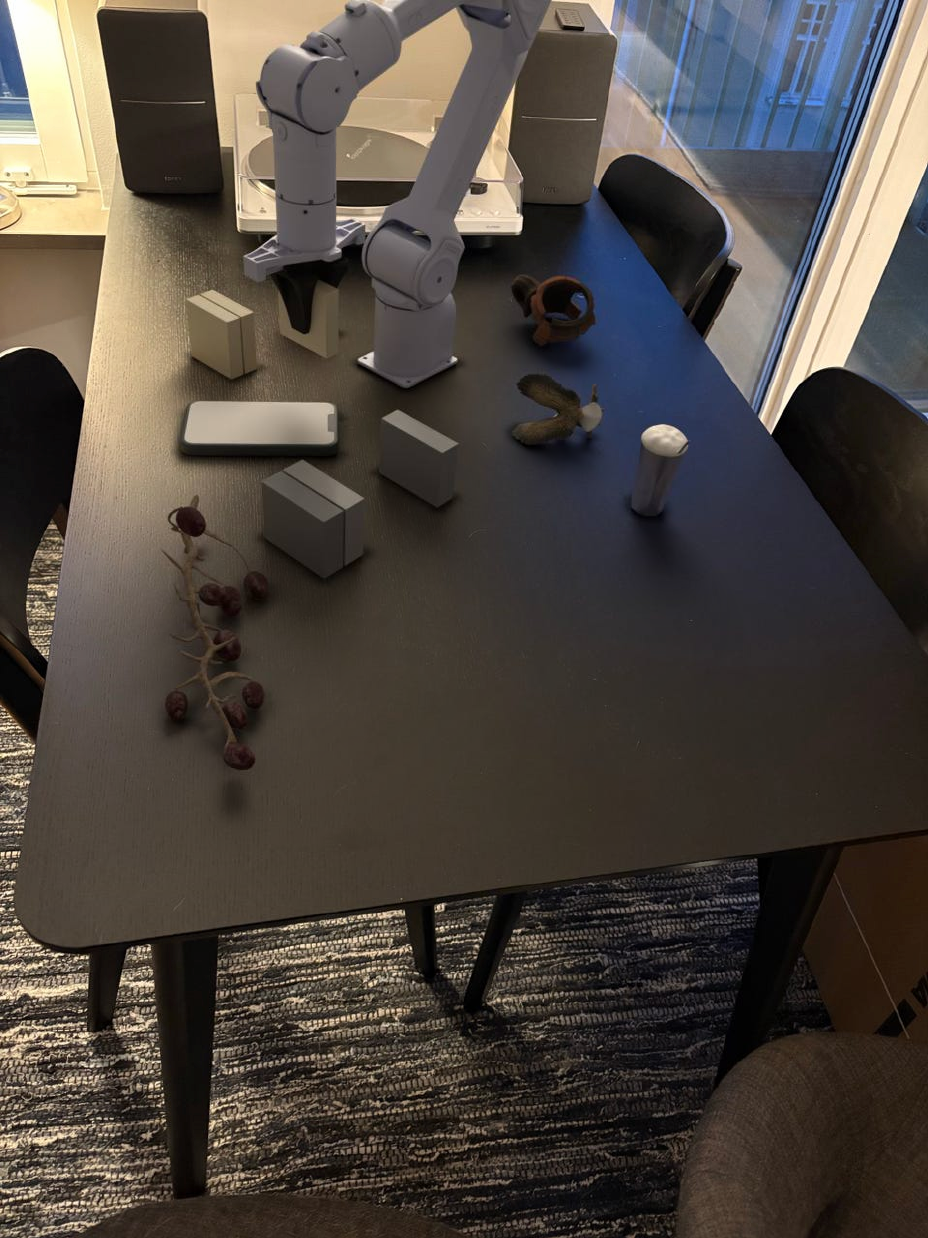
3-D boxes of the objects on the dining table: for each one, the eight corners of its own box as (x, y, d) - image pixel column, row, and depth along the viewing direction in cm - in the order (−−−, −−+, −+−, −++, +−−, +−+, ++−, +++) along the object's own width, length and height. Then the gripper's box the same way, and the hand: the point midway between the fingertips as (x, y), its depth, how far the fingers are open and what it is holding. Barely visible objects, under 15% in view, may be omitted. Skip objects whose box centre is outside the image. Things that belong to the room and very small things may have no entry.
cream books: (298, 313, 122) (296, 259, 117) (337, 334, 119) (337, 279, 114) (191, 355, 112) (185, 298, 108) (231, 379, 109) (226, 322, 105)
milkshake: (645, 529, 97) (669, 445, 90) (615, 499, 100) (636, 415, 93) (681, 519, 98) (708, 436, 92) (651, 490, 102) (674, 407, 95)
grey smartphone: (180, 459, 98) (339, 459, 100) (178, 445, 97) (338, 446, 99) (188, 411, 105) (338, 413, 106) (187, 398, 103) (338, 400, 105)
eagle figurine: (581, 399, 111) (508, 387, 108) (610, 371, 105) (533, 357, 102) (582, 462, 109) (508, 451, 107) (612, 437, 103) (534, 425, 100)
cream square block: (292, 328, 104) (290, 264, 99) (338, 352, 101) (338, 289, 96) (279, 333, 103) (277, 269, 98) (326, 358, 100) (325, 294, 95)
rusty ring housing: (599, 327, 128) (614, 290, 120) (563, 380, 126) (577, 346, 118) (521, 281, 129) (531, 241, 121) (485, 333, 126) (493, 296, 118)
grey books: (394, 463, 101) (397, 409, 96) (452, 497, 97) (458, 443, 93) (264, 538, 90) (260, 481, 86) (324, 579, 87) (323, 522, 82)
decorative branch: (259, 732, 65) (140, 426, 79) (192, 804, 70) (90, 502, 84) (379, 732, 74) (252, 456, 88) (312, 796, 78) (201, 523, 92)
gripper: (277, 226, 85) (283, 364, 95) (389, 188, 94) (384, 319, 103) (224, 200, 88) (234, 337, 98) (337, 166, 97) (337, 295, 106)
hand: (308, 326), depth 101 cm, fingers closed on cream square block, 2 cm apart
